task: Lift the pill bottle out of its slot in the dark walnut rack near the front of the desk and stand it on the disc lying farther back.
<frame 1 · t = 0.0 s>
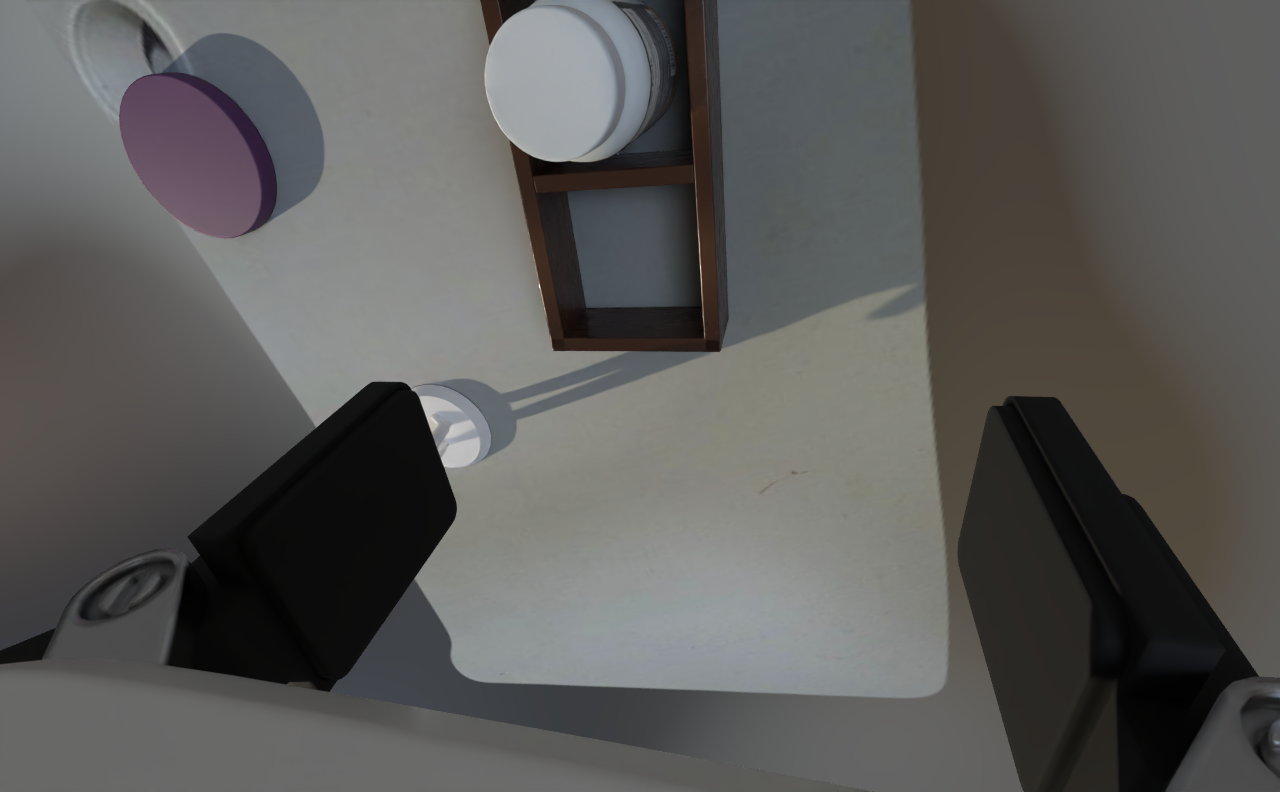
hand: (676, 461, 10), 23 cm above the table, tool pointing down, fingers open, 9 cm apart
pill bottle: (623, 68, 28), resting in rack
rack: (632, 161, 30), on the table
disc: (207, 158, 35), on the table
figurine: (446, 425, 43), on the table
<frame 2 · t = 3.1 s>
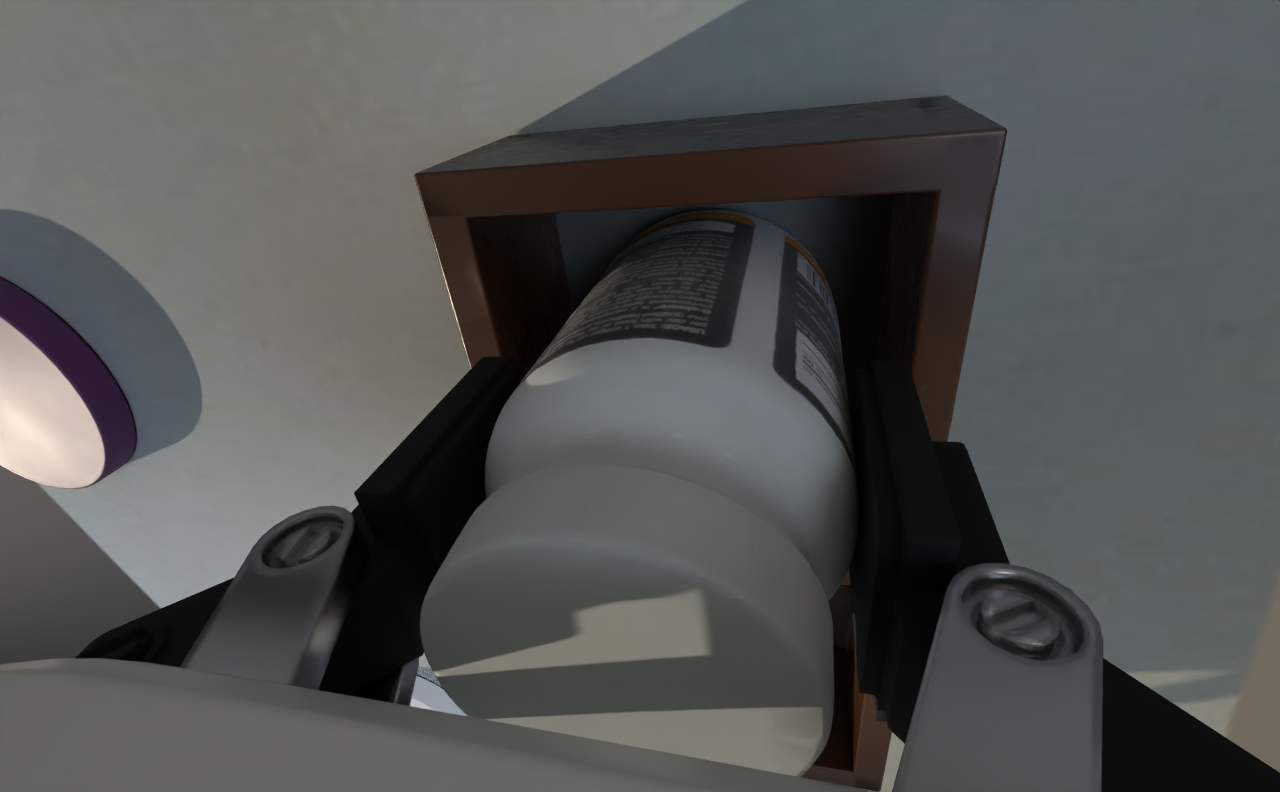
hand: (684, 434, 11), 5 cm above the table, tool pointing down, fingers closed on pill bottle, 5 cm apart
pill bottle: (718, 315, 15), resting in rack, touching gripper
rack: (723, 453, 17), on the table
disc: (25, 376, 22), on the table
figurine: (415, 708, 30), on the table
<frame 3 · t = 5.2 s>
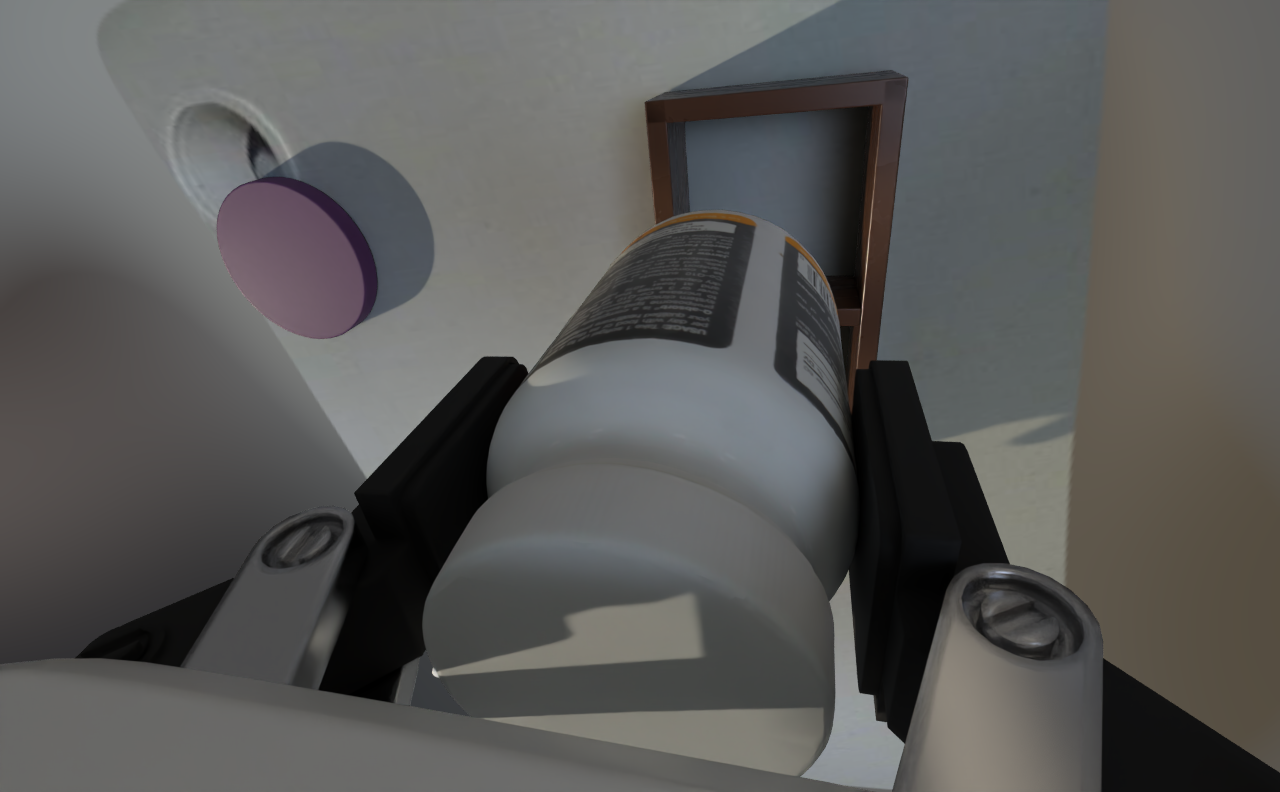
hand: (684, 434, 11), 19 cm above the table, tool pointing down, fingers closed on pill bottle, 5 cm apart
pill bottle: (719, 315, 15), point 14 cm above the table, touching gripper
rack: (771, 284, 29), on the table
disc: (305, 258, 34), on the table
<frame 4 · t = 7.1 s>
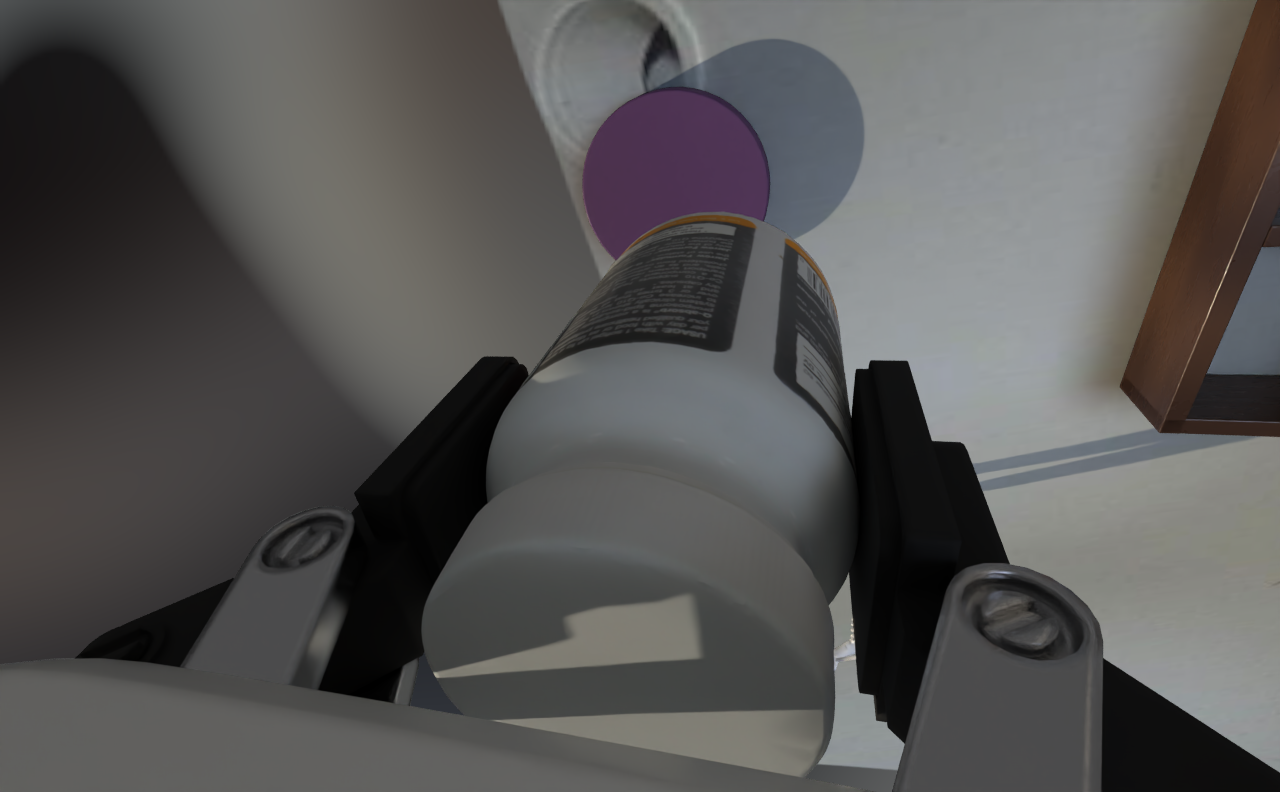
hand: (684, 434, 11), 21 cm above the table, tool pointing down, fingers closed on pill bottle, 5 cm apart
pill bottle: (718, 317, 15), point 16 cm above the table, touching gripper
disc: (676, 189, 29), on the table
figurine: (859, 496, 37), on the table
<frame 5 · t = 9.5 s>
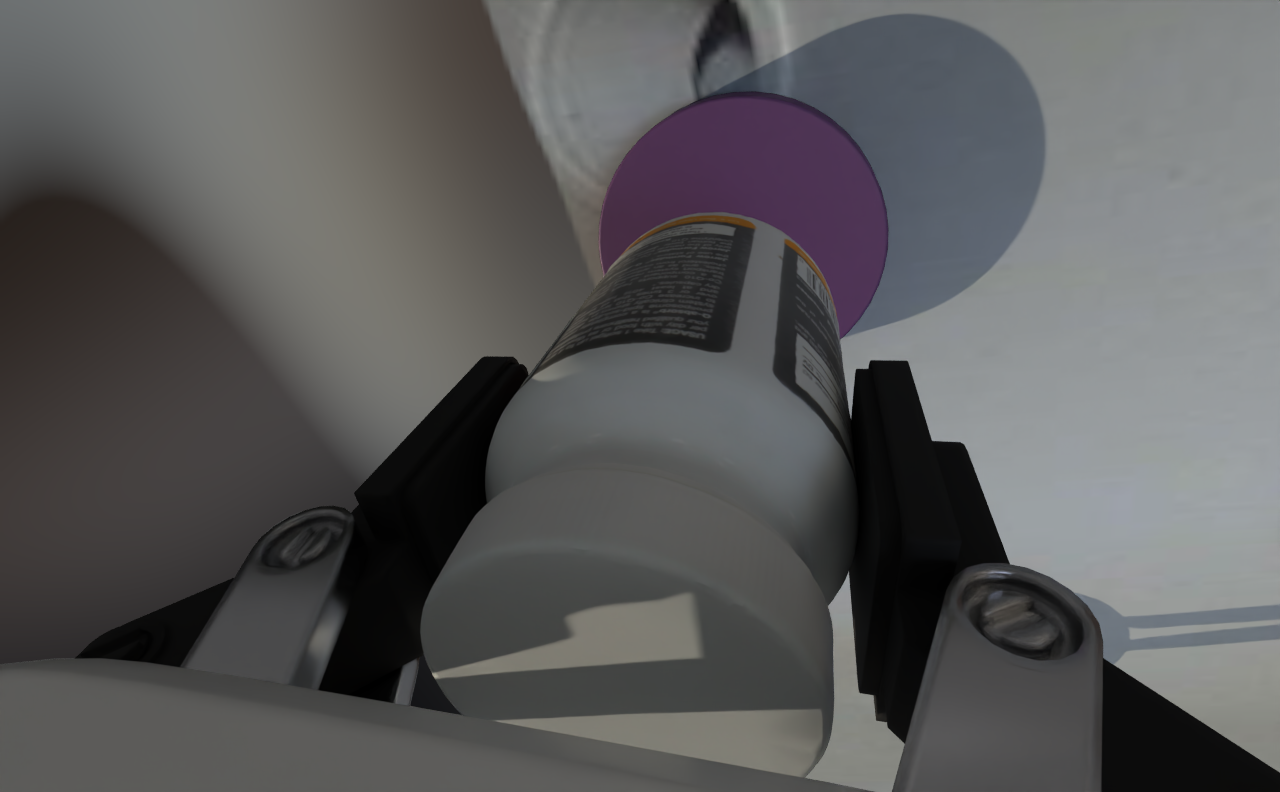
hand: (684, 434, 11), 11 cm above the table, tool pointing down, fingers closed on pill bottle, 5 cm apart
pill bottle: (718, 318, 15), point 6 cm above the table, touching gripper
disc: (738, 242, 20), on the table
when the fingers open (6 cm above the table, at t = 11.1 s): pill bottle stays where it is, resting on disc.
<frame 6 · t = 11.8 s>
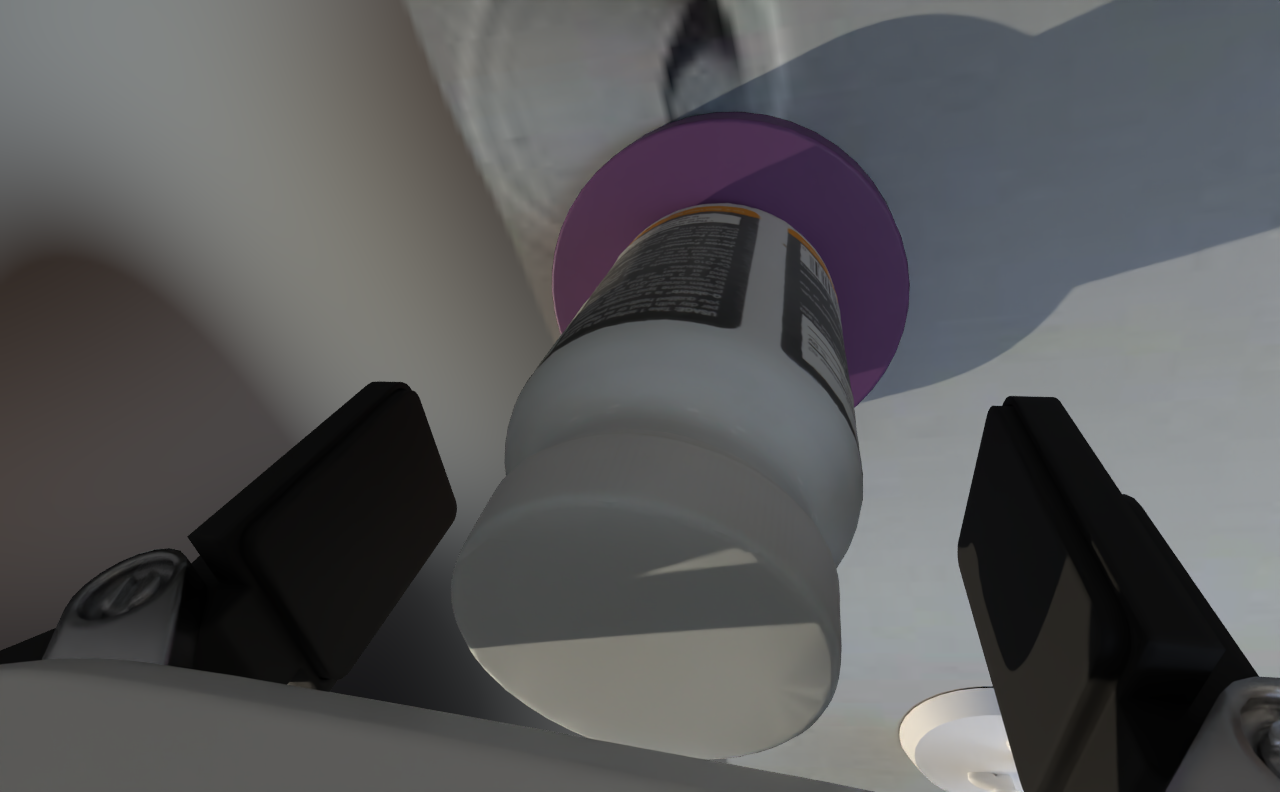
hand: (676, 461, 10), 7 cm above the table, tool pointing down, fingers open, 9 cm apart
pill bottle: (722, 307, 15), point 1 cm above the table, touching disc
disc: (723, 293, 16), on the table
figurine: (995, 739, 24), on the table
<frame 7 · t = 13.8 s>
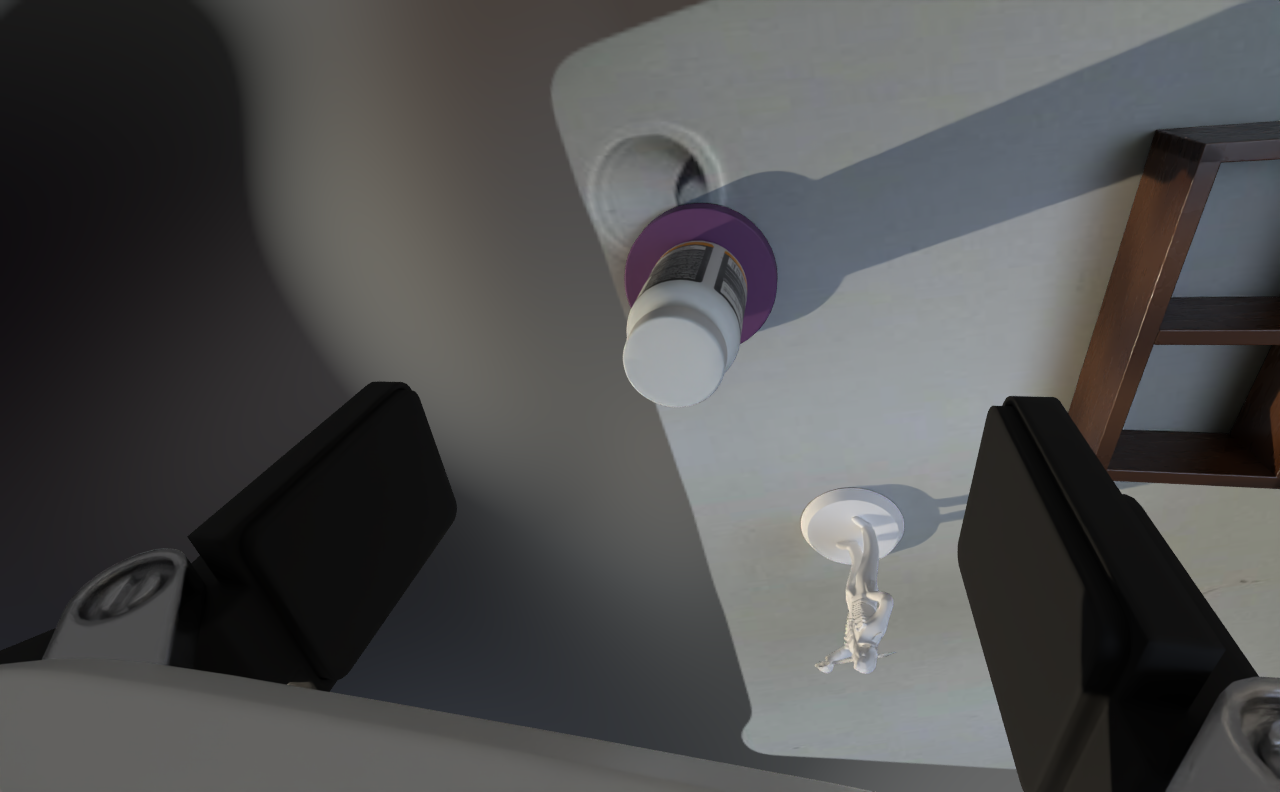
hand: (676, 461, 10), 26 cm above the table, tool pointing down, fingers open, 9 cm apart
pill bottle: (700, 284, 35), point 1 cm above the table, touching disc
rack: (1202, 304, 31), on the table
disc: (701, 278, 36), on the table
figurine: (851, 524, 43), on the table
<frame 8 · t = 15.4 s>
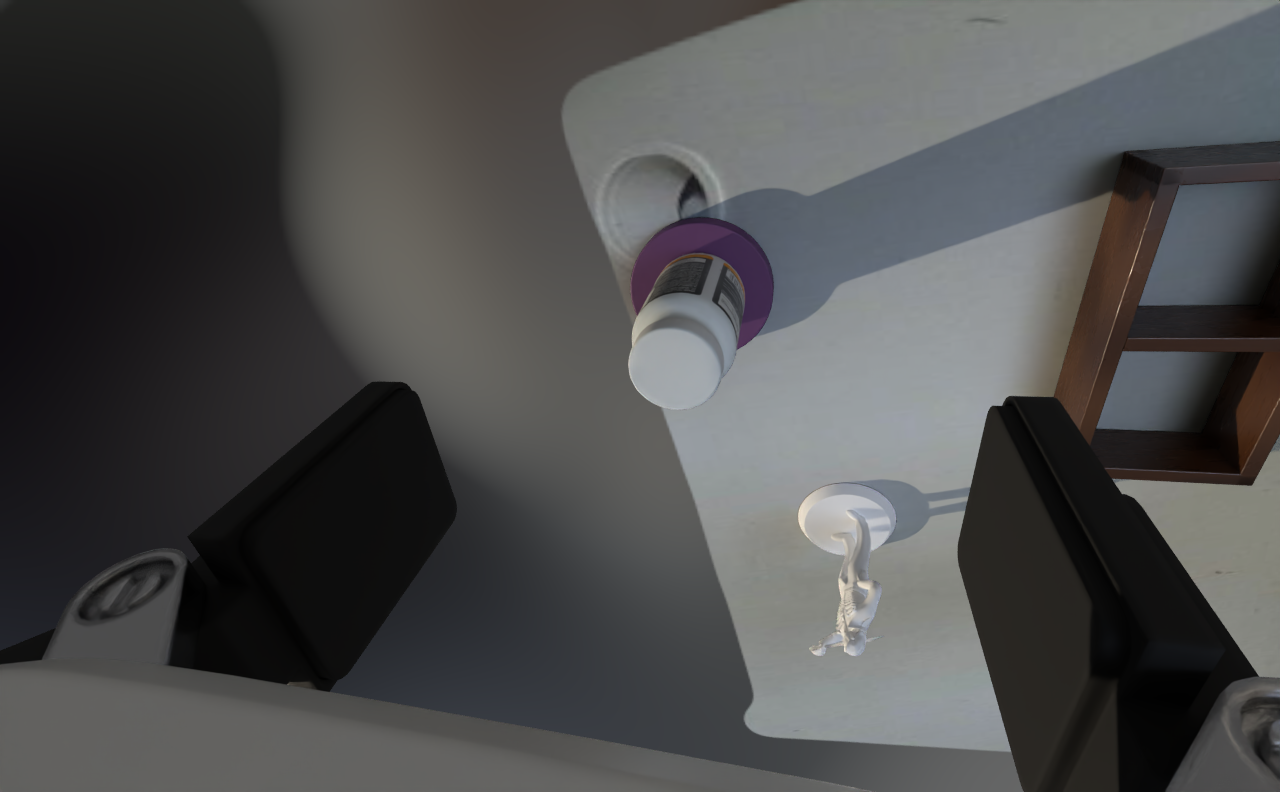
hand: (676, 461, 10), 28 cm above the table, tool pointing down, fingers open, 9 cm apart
pill bottle: (701, 292, 37), point 1 cm above the table, touching disc
rack: (1172, 312, 33), on the table
disc: (702, 287, 38), on the table
figurine: (845, 517, 46), on the table
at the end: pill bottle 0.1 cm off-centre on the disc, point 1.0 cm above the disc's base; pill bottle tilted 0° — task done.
